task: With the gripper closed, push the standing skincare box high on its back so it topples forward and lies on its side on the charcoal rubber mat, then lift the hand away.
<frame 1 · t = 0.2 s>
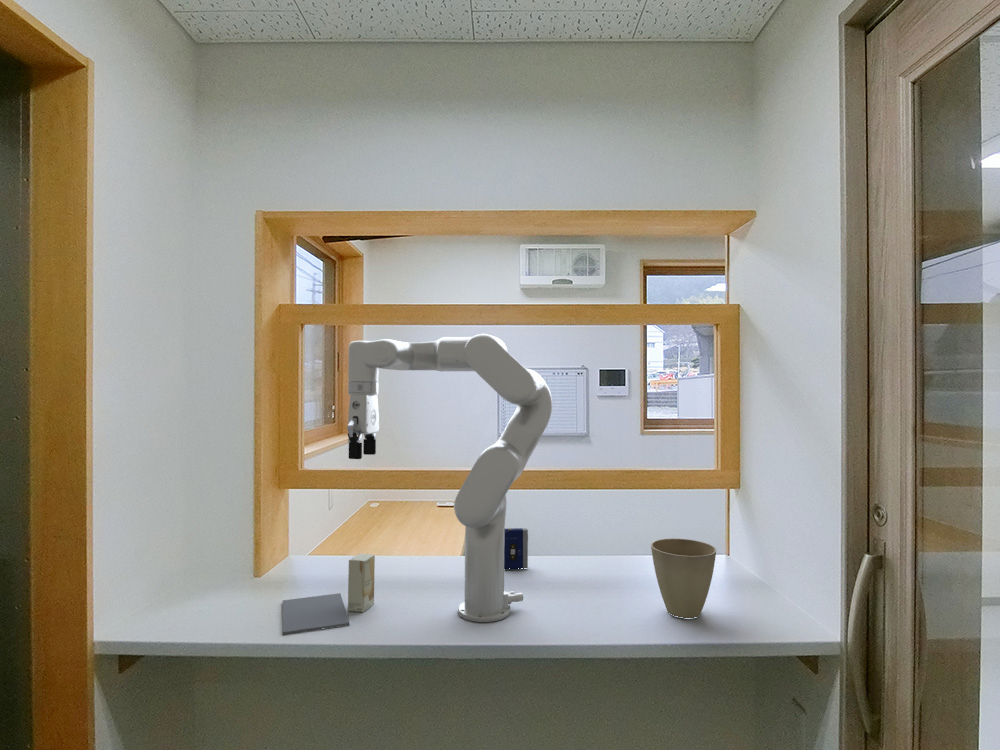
hand: (362, 456, 144), 36 cm above the counter, tool pointing down, fingers open, 9 cm apart
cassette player: (515, 569, 169), on the counter
skincare box: (361, 608, 139), on the counter
plant pot: (683, 614, 135), on the counter
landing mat: (314, 613, 135), on the counter
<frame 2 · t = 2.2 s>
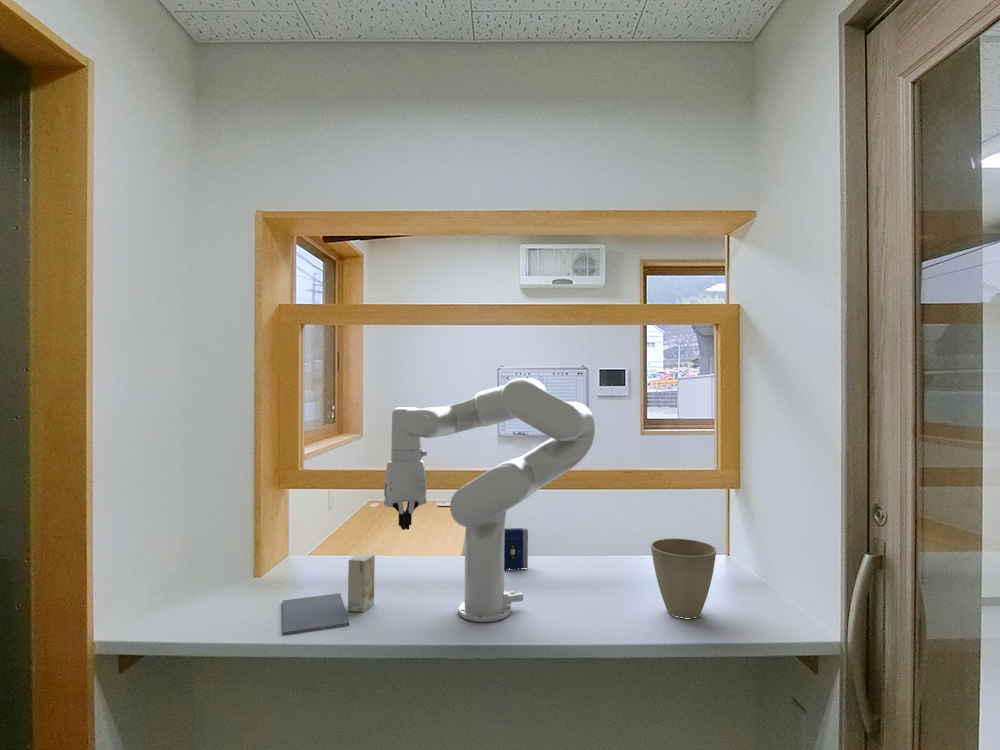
hand: (404, 528, 143), 18 cm above the counter, tool pointing down, fingers closed
nothing on the counter moved.
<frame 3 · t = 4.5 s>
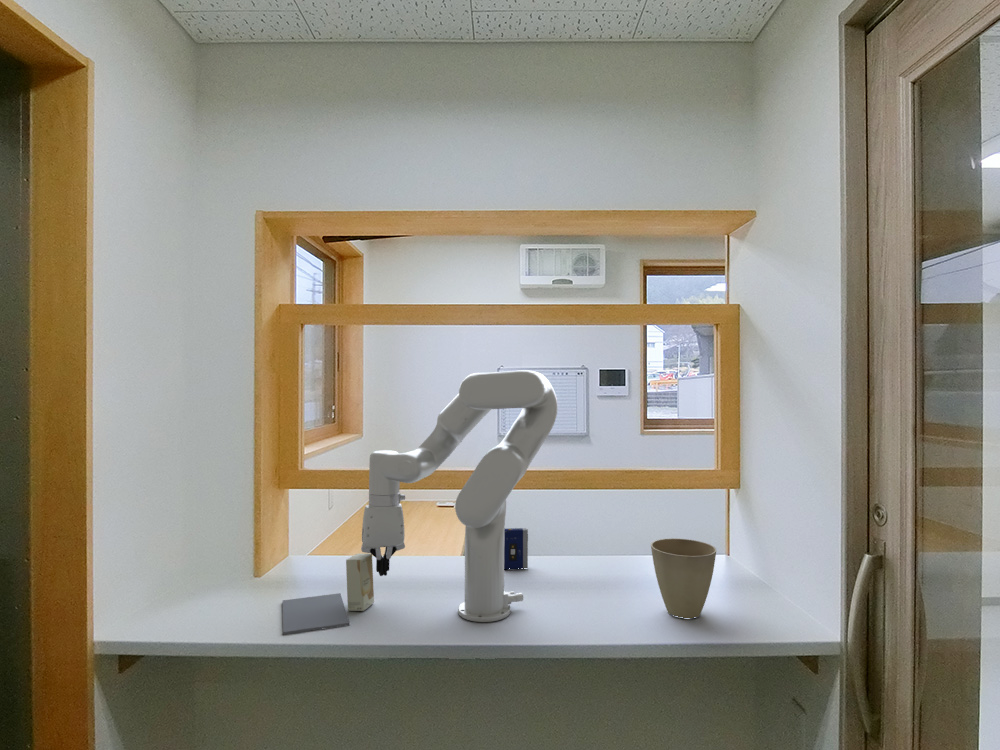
hand: (382, 574, 141), 7 cm above the counter, tool pointing down, fingers closed
nothing on the counter moved.
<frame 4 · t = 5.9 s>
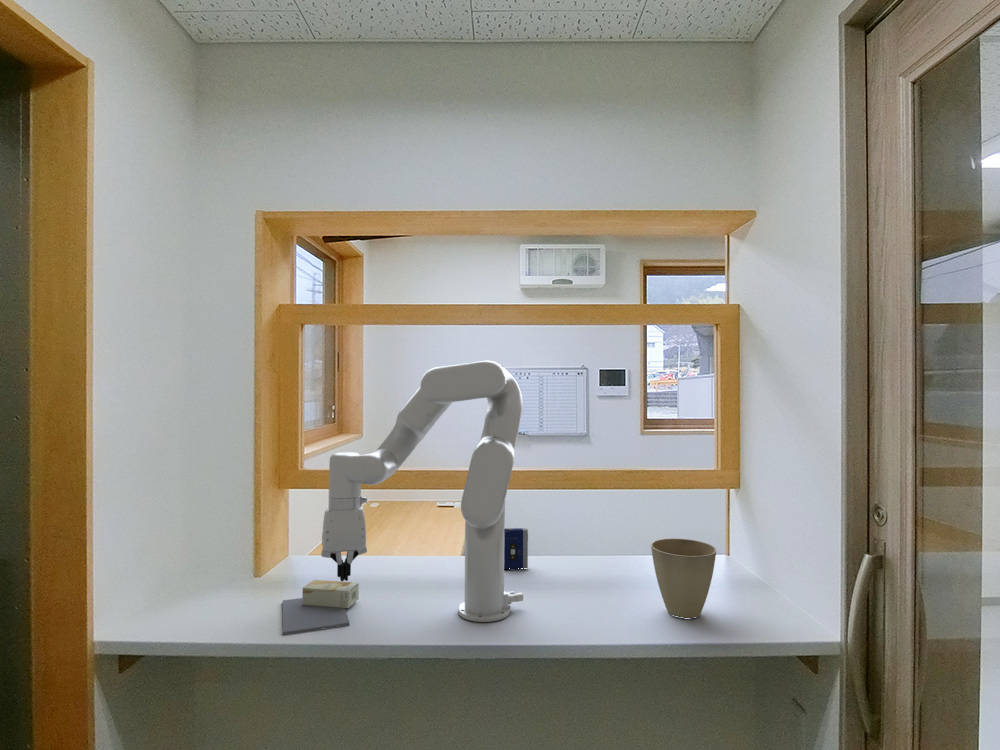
hand: (343, 579, 137), 7 cm above the counter, tool pointing down, fingers closed
skincare box: (355, 595, 139), point 3 cm above the counter, touching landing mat
everything else where it was.
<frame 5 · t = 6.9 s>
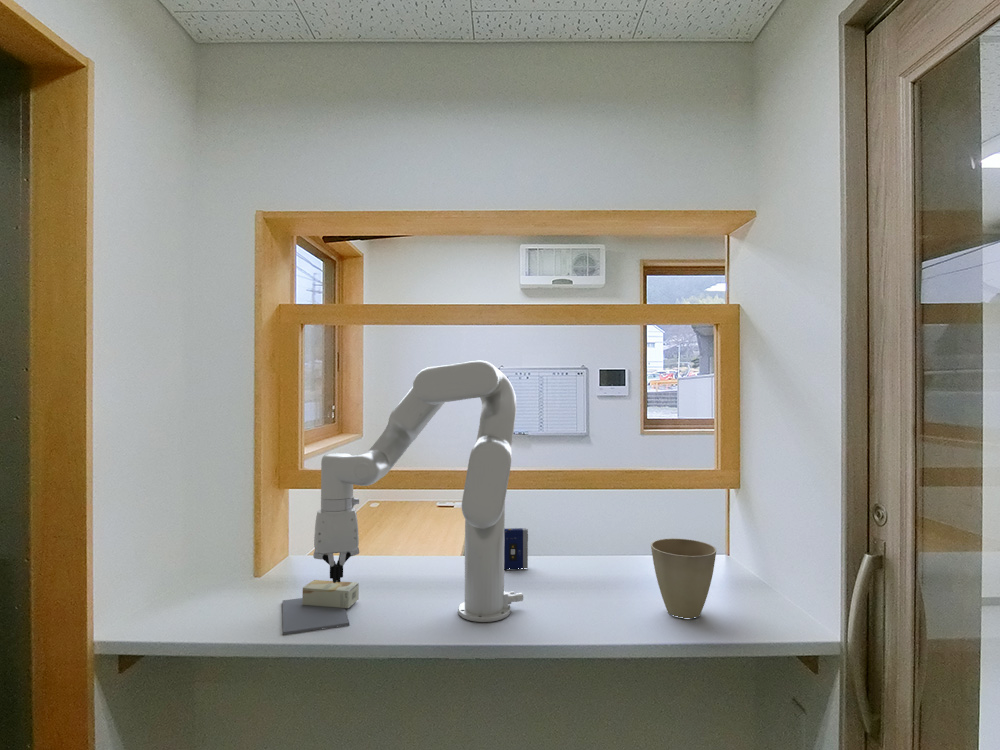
hand: (336, 580, 137), 7 cm above the counter, tool pointing down, fingers closed
nothing on the counter moved.
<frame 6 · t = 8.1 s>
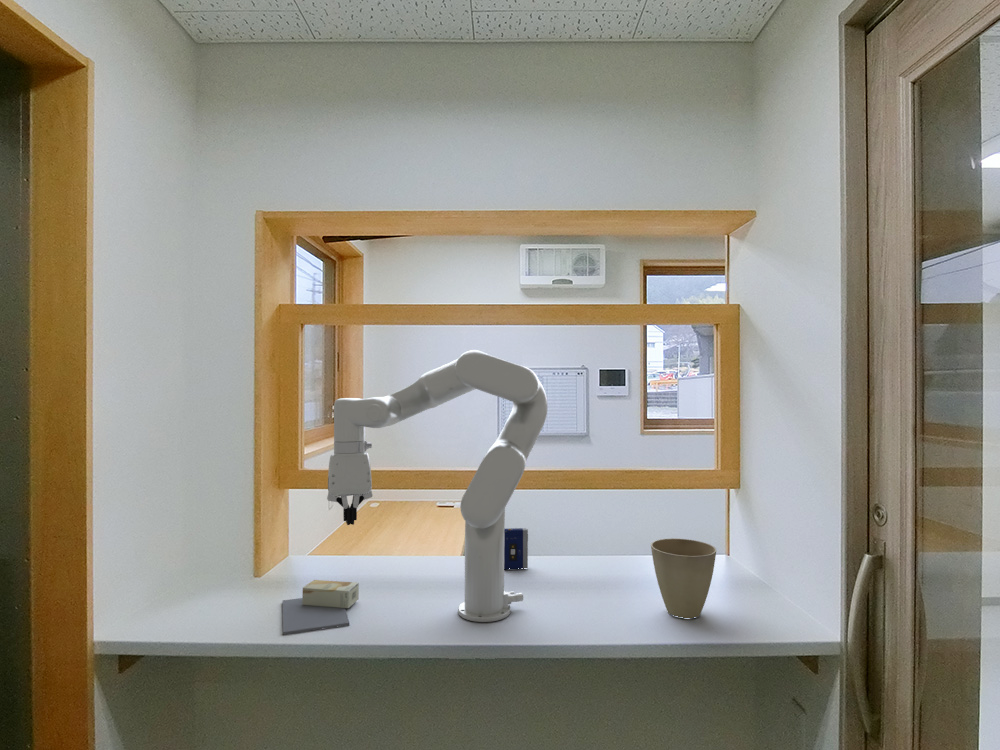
hand: (350, 523, 138), 21 cm above the counter, tool pointing down, fingers closed
nothing on the counter moved.
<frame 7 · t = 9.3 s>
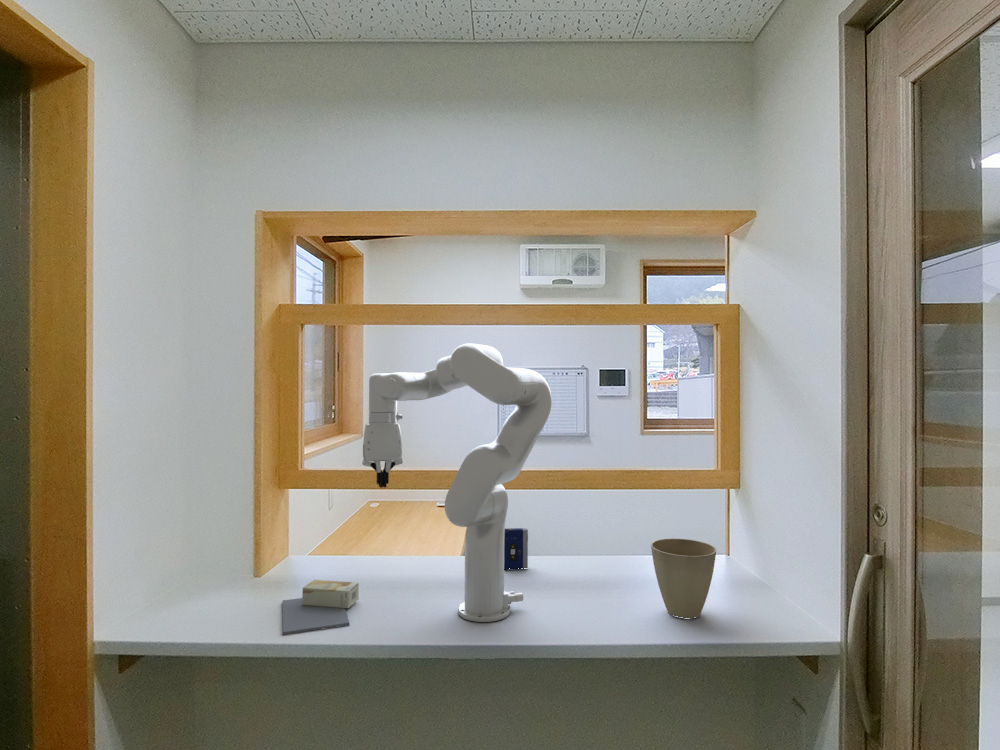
hand: (382, 486, 153), 27 cm above the counter, tool pointing down, fingers closed
nothing on the counter moved.
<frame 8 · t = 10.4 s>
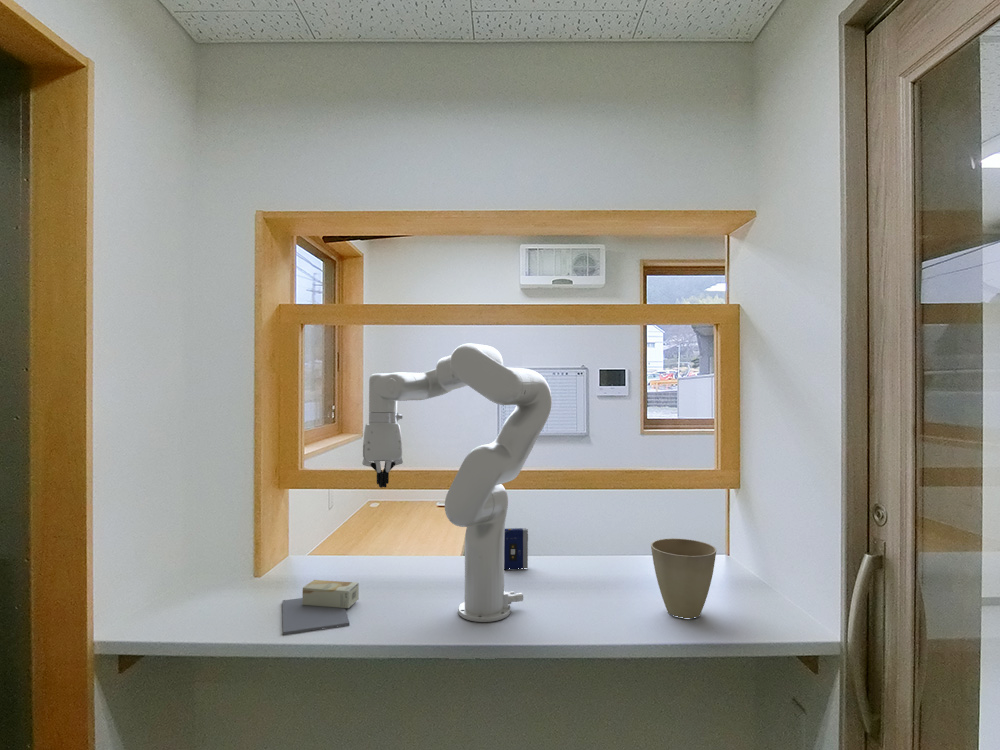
hand: (382, 486, 153), 27 cm above the counter, tool pointing down, fingers closed
nothing on the counter moved.
at the end: skincare box tilted 90°; skincare box touching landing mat; skincare box inside the target area (2.8 cm from its centre), point 2.7 cm above the counter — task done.
